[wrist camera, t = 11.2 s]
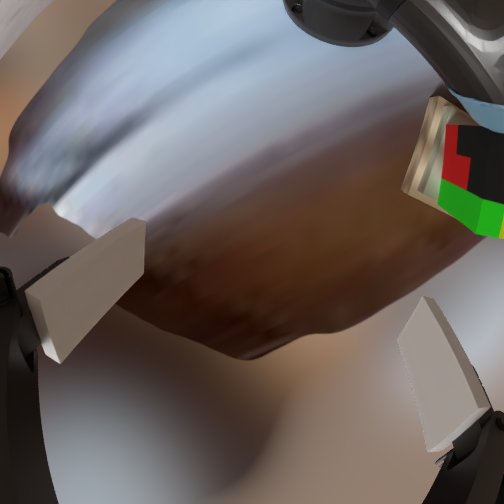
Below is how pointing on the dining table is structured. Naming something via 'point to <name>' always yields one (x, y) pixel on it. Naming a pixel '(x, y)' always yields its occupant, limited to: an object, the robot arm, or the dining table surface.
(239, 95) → the dining table surface
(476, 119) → the robot arm
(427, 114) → the plinth
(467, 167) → the puzzle toy
